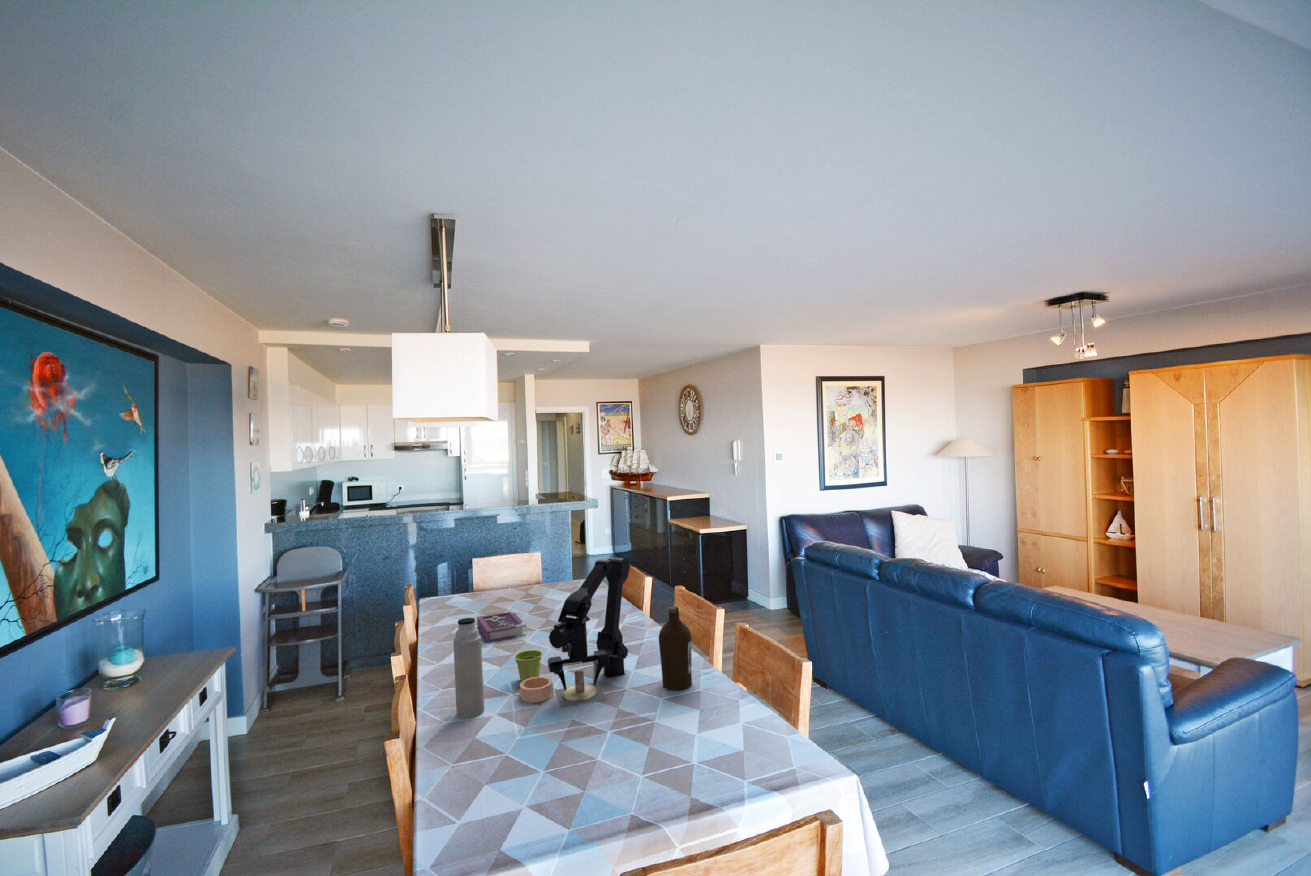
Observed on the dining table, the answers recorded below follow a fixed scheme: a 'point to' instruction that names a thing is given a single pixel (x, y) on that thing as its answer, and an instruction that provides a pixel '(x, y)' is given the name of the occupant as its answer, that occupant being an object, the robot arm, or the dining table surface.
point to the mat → (566, 703)
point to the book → (500, 626)
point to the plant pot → (528, 663)
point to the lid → (579, 689)
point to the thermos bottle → (468, 670)
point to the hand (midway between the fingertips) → (579, 687)
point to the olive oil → (675, 653)
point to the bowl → (536, 689)
